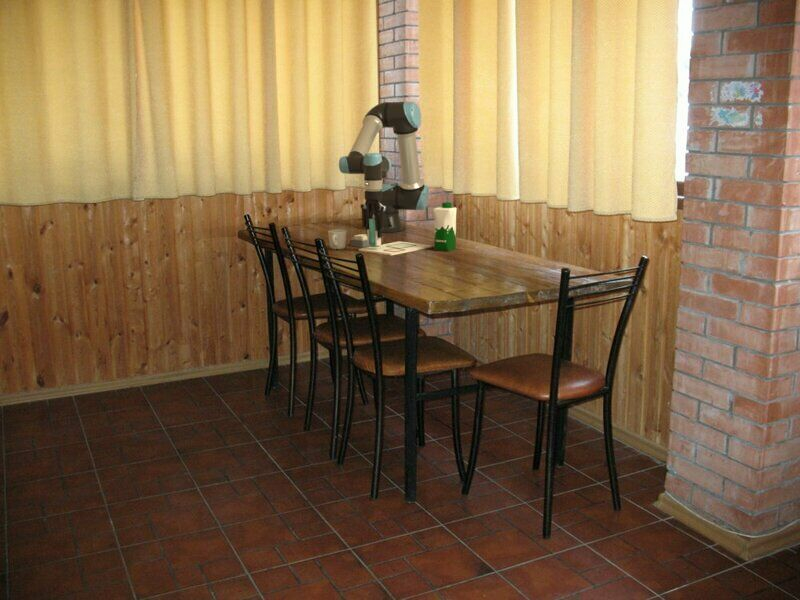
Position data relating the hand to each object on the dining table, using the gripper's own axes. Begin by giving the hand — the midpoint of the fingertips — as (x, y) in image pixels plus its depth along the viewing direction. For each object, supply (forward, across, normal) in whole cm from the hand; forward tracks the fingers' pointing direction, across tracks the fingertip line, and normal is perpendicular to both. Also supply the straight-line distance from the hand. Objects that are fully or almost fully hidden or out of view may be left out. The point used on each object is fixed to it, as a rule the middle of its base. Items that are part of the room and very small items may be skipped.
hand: (374, 244), depth 375 cm
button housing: (+3, -14, +7) cm, 16 cm away
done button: (+1, -14, +7) cm, 16 cm away
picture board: (+3, +4, +9) cm, 10 cm away
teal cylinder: (+1, 0, 0) cm, 1 cm away
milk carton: (+3, +22, +21) cm, 31 cm away
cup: (+3, -16, -7) cm, 18 cm away
